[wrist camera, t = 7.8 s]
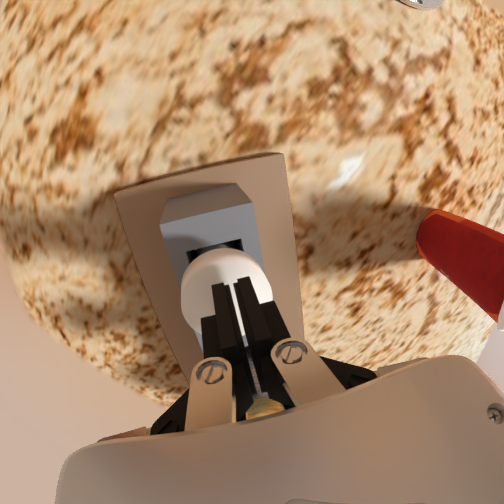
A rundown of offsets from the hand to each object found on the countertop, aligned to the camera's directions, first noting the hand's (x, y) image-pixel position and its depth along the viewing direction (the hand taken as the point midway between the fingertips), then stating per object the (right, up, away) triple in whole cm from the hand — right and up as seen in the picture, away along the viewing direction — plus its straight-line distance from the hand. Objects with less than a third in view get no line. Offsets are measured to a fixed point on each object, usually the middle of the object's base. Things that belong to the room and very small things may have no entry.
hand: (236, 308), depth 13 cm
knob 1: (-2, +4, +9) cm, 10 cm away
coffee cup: (+21, +5, +16) cm, 27 cm away
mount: (-1, -3, +14) cm, 14 cm away
